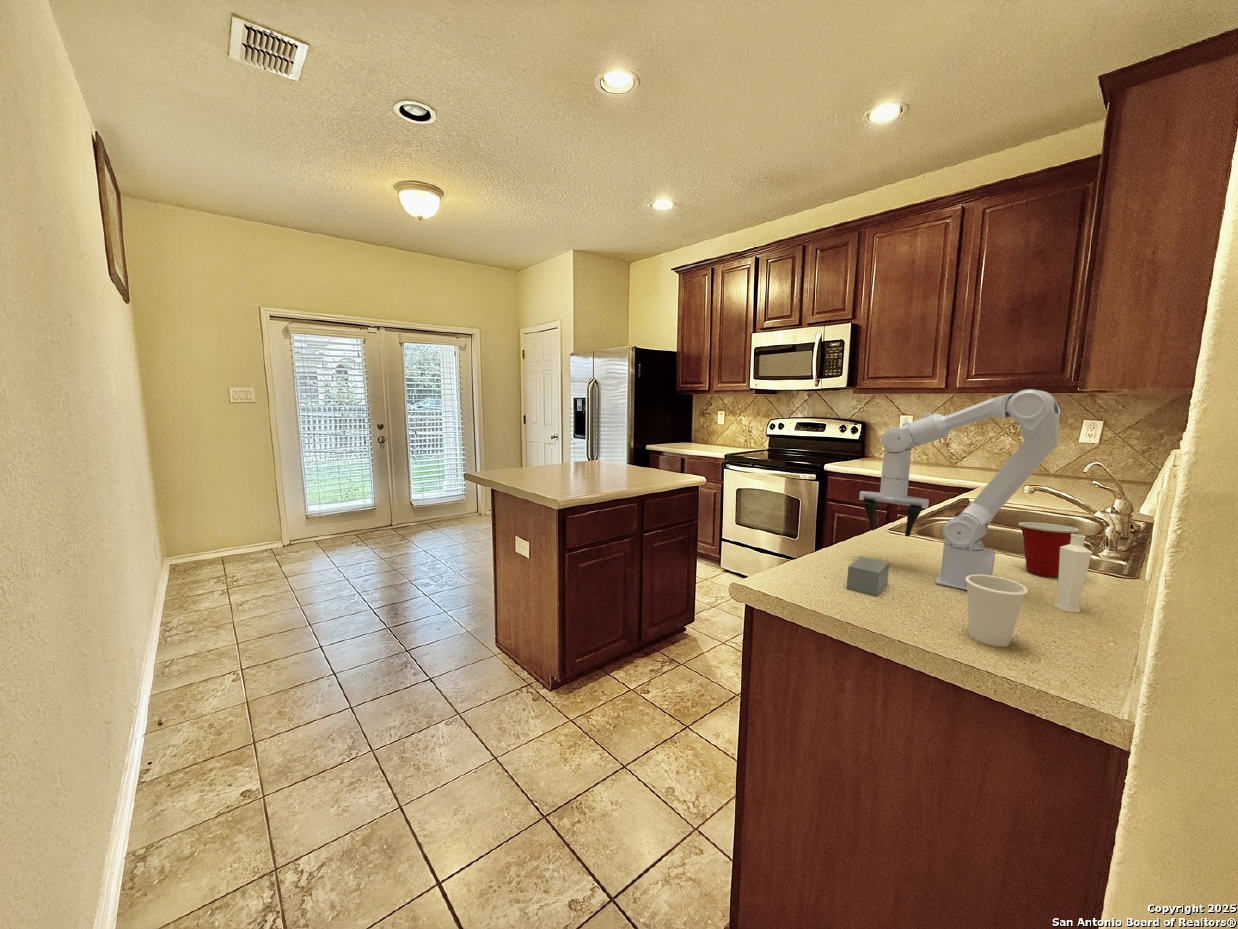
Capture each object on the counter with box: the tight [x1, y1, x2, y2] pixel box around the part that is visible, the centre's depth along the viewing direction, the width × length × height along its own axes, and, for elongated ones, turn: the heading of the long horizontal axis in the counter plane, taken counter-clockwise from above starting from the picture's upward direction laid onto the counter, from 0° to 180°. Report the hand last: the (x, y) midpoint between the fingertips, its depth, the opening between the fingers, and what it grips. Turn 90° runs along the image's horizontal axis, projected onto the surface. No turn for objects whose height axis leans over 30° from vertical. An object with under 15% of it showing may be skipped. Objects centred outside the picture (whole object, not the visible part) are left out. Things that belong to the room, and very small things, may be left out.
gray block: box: [846, 555, 890, 597], centre depth 106 cm, size 6×9×5 cm, turn 139°
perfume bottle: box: [1053, 533, 1093, 613], centre depth 95 cm, size 5×4×15 cm
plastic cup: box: [1018, 521, 1080, 578], centre depth 115 cm, size 11×11×12 cm
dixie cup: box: [966, 574, 1029, 648], centre depth 83 cm, size 8×8×10 cm
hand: (889, 532), depth 119 cm, fingers open, 7 cm apart
